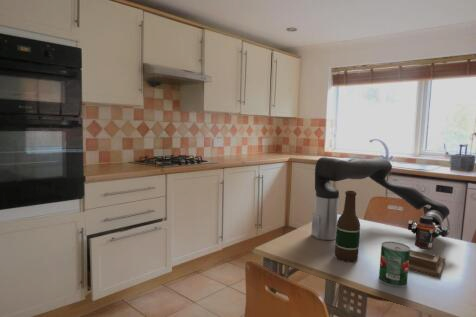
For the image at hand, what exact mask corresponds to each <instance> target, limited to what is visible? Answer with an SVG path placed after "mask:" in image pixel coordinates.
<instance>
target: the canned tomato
mask: <svg viewBox="0 0 476 317" xmlns="http://www.w3.org/2000/svg"><path fill="white" fill-rule="evenodd" d="M380 249H381V250H380V259H379V270H378V271H379V273H378V280H379V281H380V282H381V283H383V284H385V285H387V286H391V287H396V288H403V287H406V286H407V285H408V276H409V275H408V274H409V270H408V266H409V256H410V250H411V247H410V246H408V245H407V244H405V243H401V242H397V241H383V242H382V243H381V248H380Z"/></svg>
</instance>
